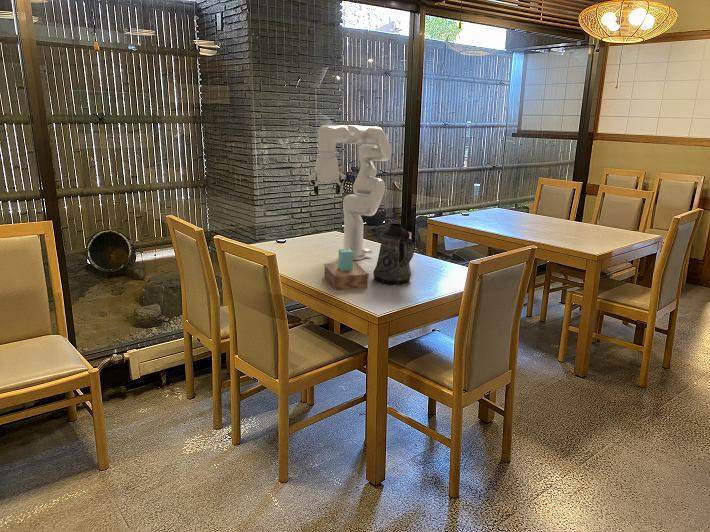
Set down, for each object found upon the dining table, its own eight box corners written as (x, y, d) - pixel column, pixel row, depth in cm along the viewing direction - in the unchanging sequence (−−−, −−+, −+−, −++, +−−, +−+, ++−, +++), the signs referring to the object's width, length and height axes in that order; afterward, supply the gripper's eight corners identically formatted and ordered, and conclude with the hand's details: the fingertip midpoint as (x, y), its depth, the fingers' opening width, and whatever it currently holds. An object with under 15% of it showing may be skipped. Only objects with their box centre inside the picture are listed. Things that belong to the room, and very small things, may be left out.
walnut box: (355, 275, 239) (355, 262, 237) (368, 287, 222) (368, 274, 220) (323, 276, 235) (323, 263, 233) (334, 290, 218) (334, 276, 216)
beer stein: (382, 272, 244) (385, 218, 237) (422, 279, 236) (426, 224, 229) (366, 281, 230) (368, 225, 223) (408, 289, 222) (412, 230, 215)
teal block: (349, 266, 230) (350, 248, 228) (352, 270, 225) (353, 251, 223) (338, 267, 228) (338, 249, 226) (341, 270, 224) (341, 252, 222)
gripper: (343, 154, 239) (342, 192, 244) (305, 154, 233) (306, 193, 238) (348, 155, 232) (348, 194, 237) (310, 156, 226) (310, 196, 231)
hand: (327, 194), depth 238 cm, fingers open, 9 cm apart
